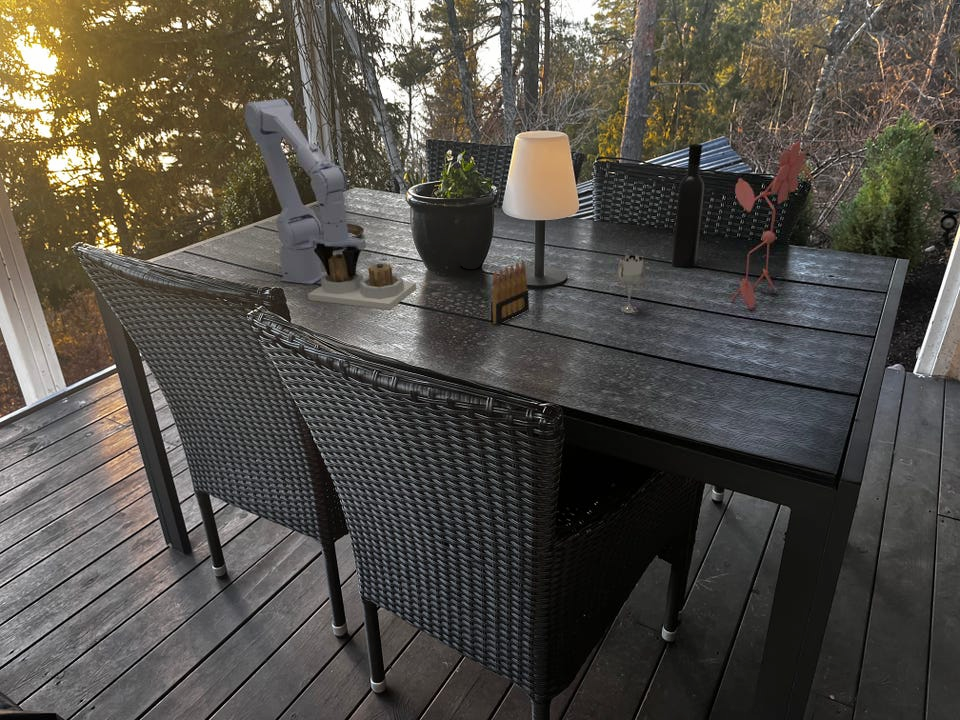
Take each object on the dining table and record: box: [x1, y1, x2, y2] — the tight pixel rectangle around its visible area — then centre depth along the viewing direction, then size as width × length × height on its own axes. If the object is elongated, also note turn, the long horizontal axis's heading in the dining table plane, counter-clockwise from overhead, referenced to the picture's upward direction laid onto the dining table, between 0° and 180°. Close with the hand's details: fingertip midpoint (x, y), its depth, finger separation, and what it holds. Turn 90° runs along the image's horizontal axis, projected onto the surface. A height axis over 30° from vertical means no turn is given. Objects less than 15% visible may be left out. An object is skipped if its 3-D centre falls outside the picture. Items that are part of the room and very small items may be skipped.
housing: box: [307, 270, 417, 311], centre depth 168 cm, size 22×14×4 cm, turn 69°
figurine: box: [730, 139, 816, 310], centre depth 146 cm, size 15×26×35 cm, turn 133°
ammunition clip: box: [490, 260, 530, 326], centre depth 150 cm, size 11×2×12 cm, turn 136°
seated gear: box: [368, 263, 393, 287], centre depth 165 cm, size 5×5×7 cm
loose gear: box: [328, 253, 353, 283], centre depth 168 cm, size 5×5×7 cm
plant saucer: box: [321, 223, 365, 250], centre depth 209 cm, size 21×21×3 cm
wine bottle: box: [671, 143, 705, 268], centre depth 173 cm, size 6×6×30 cm
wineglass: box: [616, 254, 646, 313], centre depth 151 cm, size 6×6×12 cm
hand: (341, 275), depth 169 cm, fingers closed on loose gear, 5 cm apart
